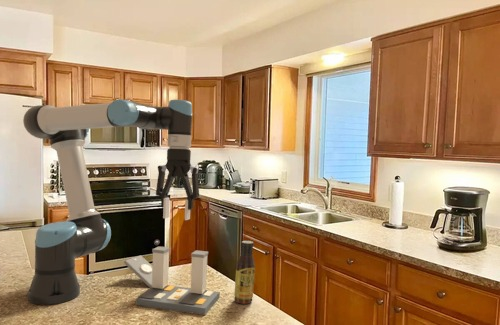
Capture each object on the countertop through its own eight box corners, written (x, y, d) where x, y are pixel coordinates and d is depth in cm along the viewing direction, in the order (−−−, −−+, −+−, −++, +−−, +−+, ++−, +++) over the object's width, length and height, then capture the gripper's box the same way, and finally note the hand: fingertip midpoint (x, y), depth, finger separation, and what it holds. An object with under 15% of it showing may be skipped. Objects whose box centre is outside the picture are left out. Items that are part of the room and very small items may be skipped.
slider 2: (189, 292, 122) (191, 253, 122) (194, 288, 127) (196, 250, 126) (202, 294, 121) (203, 255, 121) (206, 289, 126) (208, 251, 125)
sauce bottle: (238, 306, 119) (241, 244, 119) (230, 299, 125) (233, 240, 124) (256, 303, 122) (259, 243, 122) (248, 296, 128) (250, 239, 127)
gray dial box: (152, 283, 132) (125, 258, 137) (145, 296, 133) (119, 271, 139) (167, 276, 140) (141, 253, 145) (160, 288, 141) (135, 265, 146)
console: (136, 304, 117) (136, 297, 117) (157, 289, 131) (157, 282, 131) (205, 314, 112) (205, 306, 112) (219, 297, 126) (219, 290, 126)
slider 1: (150, 287, 126) (152, 249, 125) (157, 283, 130) (158, 246, 130) (162, 289, 125) (164, 250, 124) (168, 284, 129) (170, 247, 129)
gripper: (145, 146, 119) (143, 218, 120) (203, 149, 115) (201, 223, 115) (156, 147, 127) (154, 214, 127) (211, 149, 122) (209, 219, 123)
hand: (176, 218), depth 121 cm, fingers open, 7 cm apart
